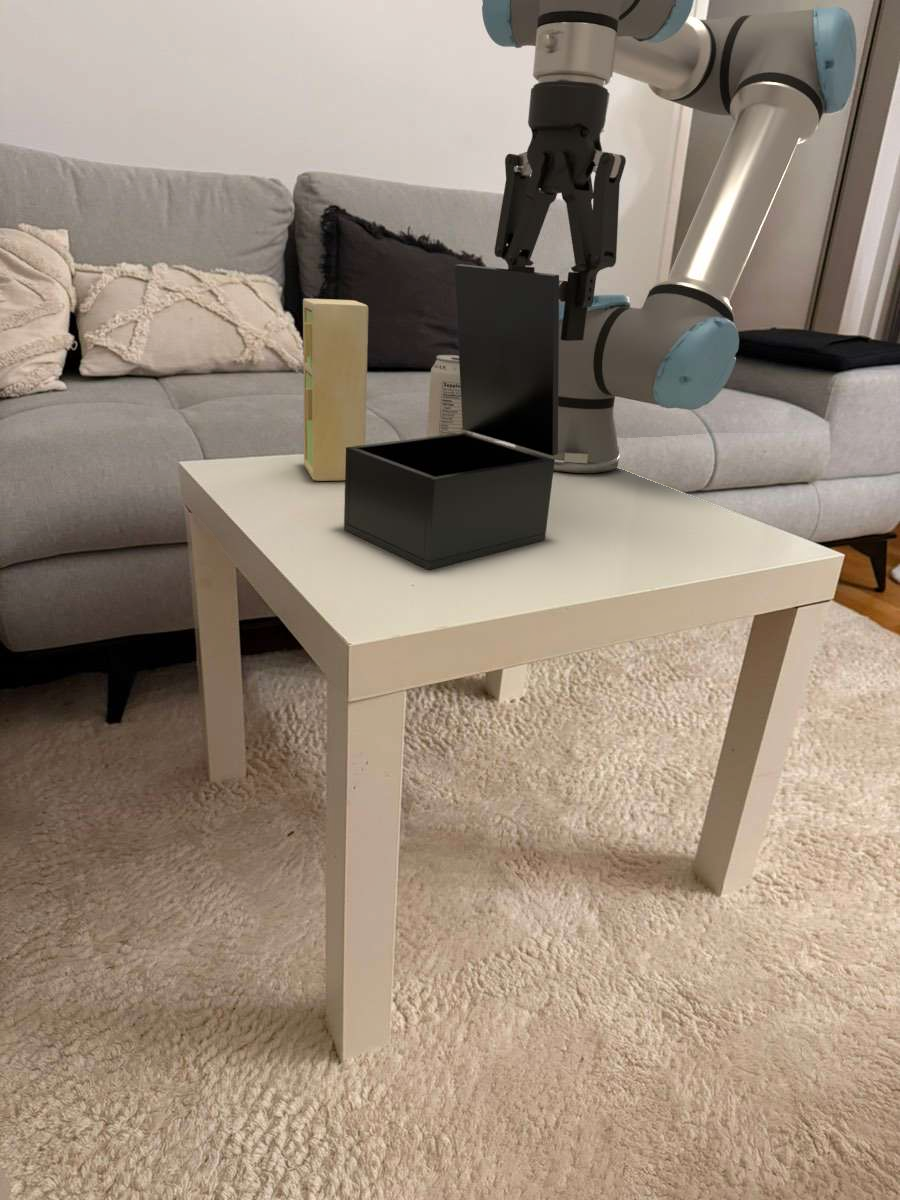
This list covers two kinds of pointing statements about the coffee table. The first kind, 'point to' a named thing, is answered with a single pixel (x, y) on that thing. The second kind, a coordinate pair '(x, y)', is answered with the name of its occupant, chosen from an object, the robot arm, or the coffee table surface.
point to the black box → (446, 497)
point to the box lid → (509, 354)
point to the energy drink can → (445, 398)
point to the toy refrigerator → (333, 383)
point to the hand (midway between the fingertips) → (543, 334)
